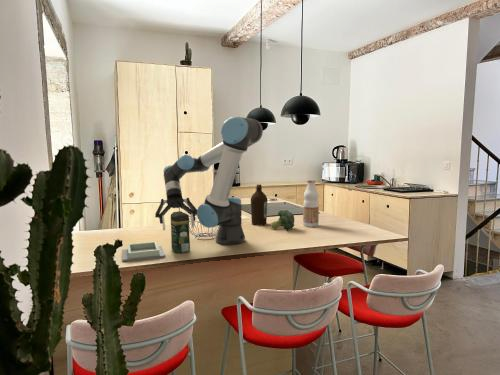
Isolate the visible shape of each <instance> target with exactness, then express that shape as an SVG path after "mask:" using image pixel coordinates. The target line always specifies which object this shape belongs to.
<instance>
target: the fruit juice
mask: <svg viewBox="0 0 500 375" xmlns="http://www.w3.org/2000/svg"><path fill="white" fill-rule="evenodd" d="M306 183H307V185H306V188H305V190H304V192H303V199H304V200H303V205H302V206H303V208H302V224H303V226H304V227H305V228H316V227H318V226H319V220H320V219H319V217H320V215H319V213H320V208H319V206H320V203H319V196H320V195H319V192H318V189H317V187H316V180H314V179H311V180H309V179H308V180H307V181H306Z"/></svg>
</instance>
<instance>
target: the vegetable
mask: <svg viewBox="0 0 500 375" xmlns="http://www.w3.org/2000/svg"><path fill="white" fill-rule="evenodd" d="M277 216H279V218H278V220H275V221H273V222H270V226H271V228H272V230H276V229H277V228H279V227H282V228H283V229H284V230H285V231H290V230H291V229H293V228H294V227H295V214H294V213H293V212H290V211H289V210H288V209H284V210H279V211H278V212H277Z"/></svg>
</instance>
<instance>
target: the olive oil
mask: <svg viewBox="0 0 500 375" xmlns="http://www.w3.org/2000/svg"><path fill="white" fill-rule="evenodd" d="M255 188H256V190H255V192H254V193H253V194H252V195H251V197H250V213H251V224H252V225H253V226H265V225H267V217H268V197H267V195H266V194H265V192H264V191H263V188H262V184H256V185H255Z"/></svg>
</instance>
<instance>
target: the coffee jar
mask: <svg viewBox="0 0 500 375" xmlns="http://www.w3.org/2000/svg"><path fill="white" fill-rule="evenodd" d="M170 233H171V234H170V236H171V238H170V239H171V251H172V252H174V253H178V254H185V253H187V252H190V250H191V241H190V240H191V239H190V214H189V213H188V214H187V212H183V211H182V210H181V211H173V212H171V214H170Z"/></svg>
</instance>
